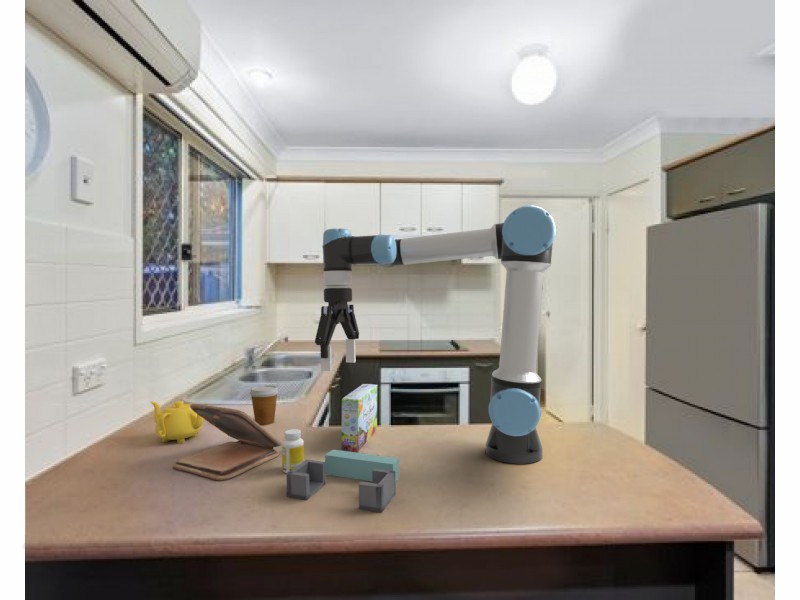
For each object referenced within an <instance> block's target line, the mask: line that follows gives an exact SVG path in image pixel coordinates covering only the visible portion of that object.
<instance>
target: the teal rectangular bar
mask: <svg viewBox="0 0 800 600" xmlns="http://www.w3.org/2000/svg"><path fill="white" fill-rule="evenodd" d="M324 462H325V475H330V476H333V477H342V478H348V479H349V478H350V479H355V480H361V481H362V480H363V481H368V482H372V470H373V469H374V468H375V469H383V470H390V471H395V483H396V482H397V481H398V479H400V458H399V457H392V456H385V455H379V454H378V455H376V454H369V453H364V452H350V451H341V449H339V450H338V449H332V450H330V451H329V452H327V453H326V454H325V455H324Z"/></svg>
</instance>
